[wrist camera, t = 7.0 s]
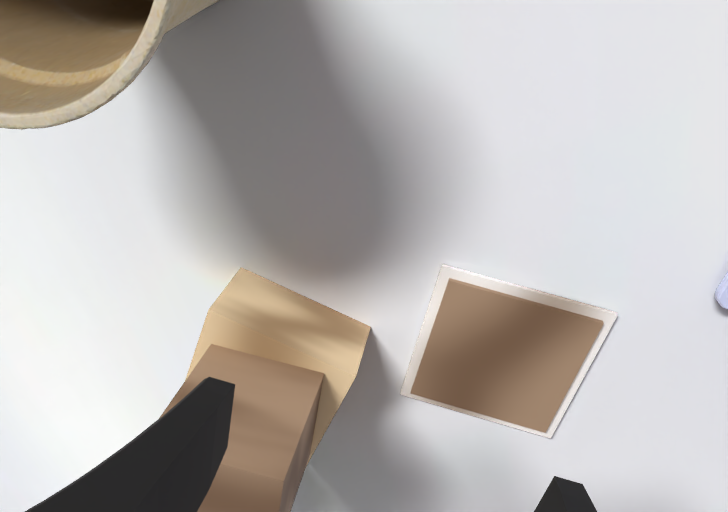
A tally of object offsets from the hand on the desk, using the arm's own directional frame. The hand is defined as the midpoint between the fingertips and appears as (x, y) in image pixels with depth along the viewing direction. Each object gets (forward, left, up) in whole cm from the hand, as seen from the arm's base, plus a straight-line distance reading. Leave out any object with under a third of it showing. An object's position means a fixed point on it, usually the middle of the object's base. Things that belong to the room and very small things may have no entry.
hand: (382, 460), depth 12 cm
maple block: (+5, +7, -11) cm, 14 cm away
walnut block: (+4, +7, -7) cm, 11 cm away
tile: (-4, +4, -10) cm, 12 cm away
